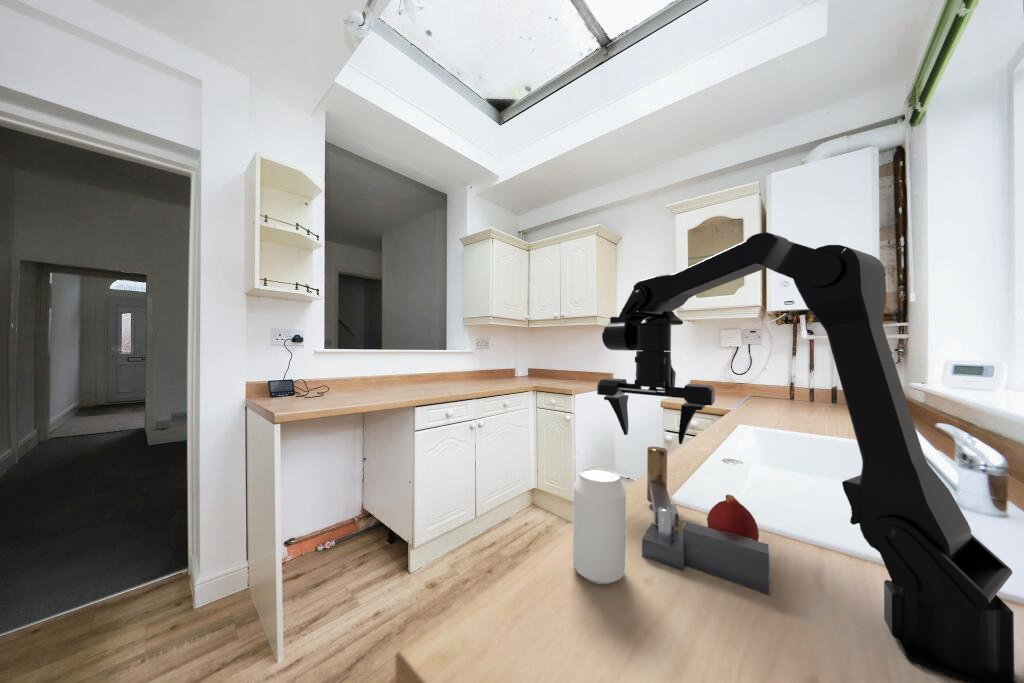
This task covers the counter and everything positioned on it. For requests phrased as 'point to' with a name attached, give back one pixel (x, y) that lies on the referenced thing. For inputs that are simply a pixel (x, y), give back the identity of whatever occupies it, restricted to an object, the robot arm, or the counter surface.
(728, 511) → the onion
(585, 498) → the beverage can
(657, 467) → the lever
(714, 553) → the base
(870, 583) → the counter surface
